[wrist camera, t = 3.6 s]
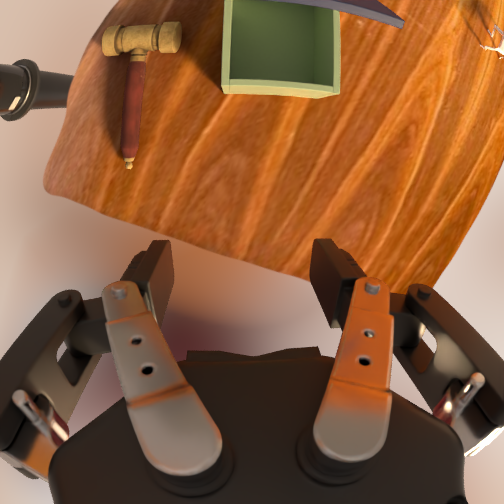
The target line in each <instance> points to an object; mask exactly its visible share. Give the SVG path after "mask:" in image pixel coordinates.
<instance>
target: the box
mask: <svg viewBox="0 0 504 504" xmlns="http://www.w3.org/2000/svg"><path fill="white" fill-rule="evenodd" d="M221 87H222V90H223V93H224V94H266V95H283V96H296V97H307V98H316V99H317V98H322V97H327V96H332V95H337V94H340V14H339V11H337V10H332V9H327V8H322V7H316V6H310V5H303V4H296V3H287V2H277V1H264V0H224V16H223V39H222V70H221Z"/></svg>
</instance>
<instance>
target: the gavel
mask: <svg viewBox="0 0 504 504" xmlns="http://www.w3.org/2000/svg"><path fill="white" fill-rule="evenodd" d="M181 38H182V25H181V23H180V22H164V23H163V25H158V24H151V25H137V26H128V27H126V28H125V26H124V25H118V26H110V27H108V28H107V29H106V30H105V32H104V34H103V37H102V50H103V53H104V54H105V55H106V56H114V55H121V54H122V53H123V52H124V51H125V52H131V55H132V56H131V58H130V63H129V66H128V69H127V75H126V83H125V92H124V102H123V114H122V128H121V150H122V153H123V157H124V161H126V168H127V169H130V168H132V161H134V159H135V155H136V152H137V149H138V147H139V130H140V117H141V106H142V97H143V88H144V80H145V72H146V63H145V62H146V56H145V55H147V51H155V50H160V52H161V53H176V52H177V51H178V49H179V47H180V43H181Z"/></svg>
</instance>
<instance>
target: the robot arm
mask: <svg viewBox="0 0 504 504" xmlns="http://www.w3.org/2000/svg"><path fill="white" fill-rule="evenodd" d="M31 88H32V74H31V72H30V70H29V68H27V67H26V66H22V65H18V66H16V65H6V64H0V115H12V114H15V113H17V112H18V111H20V110H21V109H22V108H23V106H24V105H25V104H26V102H27V100H28V98H29V95H30V92H31ZM310 281H311V284H312V286H313V289H314V291H315V293H316V295H317V298H318V300H319V302H320V305H321V307H322V309H323V312H324V314H325V316H326V319H327V321H328V323H329V326H330V328H341V330H342V336H341V339H340V343H339V346H338V350H337V353H336V356H335V358H333V357H328V356H321V354H320V351H319V348H318V346H317V347H305V348H291V349H284V350H280V351H276V352H272V353H268V354H264V355H260V356H246V355H240V354H234V353H228V352H223V351H187V359H186V360H183V361H179V362H176V361H175V359H174V357H173V355H172V353H171V351H170V349H169V347H168V345H167V343H166V341H165V339H164V337H163V335H162V333H161V331H160V328H161V325H162V321H163V318H164V314H165V311H166V308H167V304H168V301H169V297H170V294H171V291H172V288H173V284H174V268H173V260H172V251H171V244H170V241H169V240H153V241H152V243H151V244H150V246H149V248H148V250H147V251H141V252H140V253H139V254H137V255H136V256H134V258H133V259H132V261H131V264H129V266H128V269H126V271H125V272H124V274H123V276H122V278H121V279H120V281H117V282H114V283H111V284H109V285H108V286H106V287H105V288H104V289H103V291H102V297H99V298H95V299H89V300H83V299H82V296H81V294H80V292H78V291H76V290H65V291H62V292H60V293H58V294H56V295H55V296H53V297H52V298H51V300H50V301H49V302H48V303H47V304H46V305H45V306H44V307H43V308H42V309H41V311H40V312H39V313H38V314H37V315H36V316H35V318H34V319H33V320H32V321H31V322H30V323H29V325H28V326H27V327H26V328H25V329H24V331H23V332H22V333H21V334H20V336H19V337H18V338H17V339H16V341H15V342H14V343H13V344H12V346H11V347H10V348H9V350H8V351H7V352H6V353H5V355H4V356H3V357H2V359H1V360H0V457H1V458H2V459H4V460H5V461H6V462H7V463H9V464H10V465H11V466H13V467H14V468H15V469H17V470H18V471H19V472H21V473H22V474H24V475H25V476H26V477H28V478H31V479H38V478H41V479H42V480H44V481H46V482H48V483H49V487H50V490H51V494H52V497H53V501H54V504H468V502H467V500H466V497H465V490H464V462H465V456H472V455H474V454H475V453H477V452H478V451H479V450H480V449H481V448H483V447H484V446H485V445H486V444H488V443H489V442H491V441H492V440H493V439H494V438H495V437H496V436H497V435H498V434H499V433H500V432H501V431H502V430H503V429H504V361H503V359H502V358H501V357H500V356H499V355H498V354H497V353H496V351H495V350H494V349H493V348H492V347H491V346H490V345H489V344H488V343H487V342H486V341H485V340H484V338H483V337H482V336H481V335H480V334H479V333H478V332H477V331H476V330H475V329H474V328H473V327H472V326H471V325H470V324H469V323H468V322H467V321H466V320H465V319H464V318H463V317H462V316H461V315H460V314H459V313H458V312H457V311H456V310H455V309H454V308H453V307H452V306H451V305H450V304H449V303H448V302H447V301H446V300H445V299H444V298H443V297H441V296H440V295H439V294H438V293H437V292H436V291H435V290H434V289H432V288H431V287H429V286H427V285H423V284H412V285H410V286H409V287H408V290H407V293H406V295H404V294H397V293H390V288H389V286H388V285H387V284H386V283H385V282H383V281H381V280H379V279H377V278H373V277H367V276H366V274H365V273H364V272H363V270H362V269H361V268H360V267H359V265H358V264H357V263H356V261H354V259H353V257H352V256H351V255H350V254H349V253H348V252H346V251H344V250H343V249H338V247H337V246H336V245H335V243H334V242H333V241H332V239H314V242H313V248H312V256H311V264H310ZM426 328H427V329H428V330H429V332H430V333H431V334H432V335H433V336H434V338H435V339H436V342H437V349H436V352H435V353H433V352H432V351H431V349H430V348H429V347H428V346H427V344H426V343H425V342H424V341H423V339H422V336H423V334H424V332H425V329H426ZM63 341H64V342H65V344H66V346H67V349H66V350H65V352H64V354H63V355H62V356H61V358H60V360H59V361H58V362H57V358H56V355H57V351H58V348H59V347H60V345H61V344H62V343H63ZM109 352H112V355H113V359H114V363H115V366H116V370H117V374H118V377H119V380H120V384H121V387H122V390H123V393H124V397H123V398H122V399H120V400H119V401H118V402H116V403H115V404H114V405H112V406H111V407H110V408H109V409H107V410H106V411H105V412H103V413H102V414H101V415H99V416H98V417H97V418H95V419H94V420H93V421H92V422H90V423H89V424H88V425H86V426H85V427H83V428H82V429H81V430H80V431H78V432H77V433H75V434H74V435H73V436H71V437H70V438H69V428H68V426H67V423H68V421H69V419H70V417H71V415H72V413H73V410H74V408H75V406H76V404H77V402H78V400H79V398H80V396H81V394H82V392H83V390H84V388H85V386H86V384H87V382H88V381H89V379H90V377H91V375H92V373H93V371H94V369H95V367H96V365H97V364H98V362H99V360H100V358H101V356H102V354H103V353H109ZM392 354H394V355H395V356H396V358H397V359H398V361H399V362H400V364H401V365H402V367H403V368H404V369H405V371H406V372H407V374H408V375H409V377H410V378H411V380H412V381H413V383H414V384H415V386H416V387H417V389H418V390H419V392H420V393H421V395H422V396H423V398H424V399H425V401H426V402H427V404H428V406H429V407H430V409H431V410H432V412H433V415H432V414H430V413H428V412H427V411H425V410H423V409H422V408H420V407H418V406H417V405H415V404H413V403H412V402H410V401H408V400H407V399H405V398H403V397H402V396H400V395H398V394H397V393H395V392H393V391H392V390H390V378H391V367H392ZM68 438H69V439H68Z"/></svg>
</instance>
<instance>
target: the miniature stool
mask: <svg viewBox="0 0 504 504" xmlns="http://www.w3.org/2000/svg"><path fill="white" fill-rule="evenodd" d="M495 29H496V30H497V31H498V32H499V33H500V34H501V35H502V39H501V42H500V44H499V47H498V48H497V49H496V48H493V47H489V46H485V47H483V46H482V45H480V46H481V47H482V48H484V49H485V50H486V49H490V50H496V51H499V52H500V53H502V54H503V55H504V32H502V31H501V30H500V29H499V28H498V27H497V26H496V25H494V29H493V33H492V34H491V33H490V31H489V29H488V32H489V34H490V35H491V37H493V34H494V31H495ZM500 58H503V59H504V57H502V56H501V57H500ZM500 58H499V59H500Z"/></svg>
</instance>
